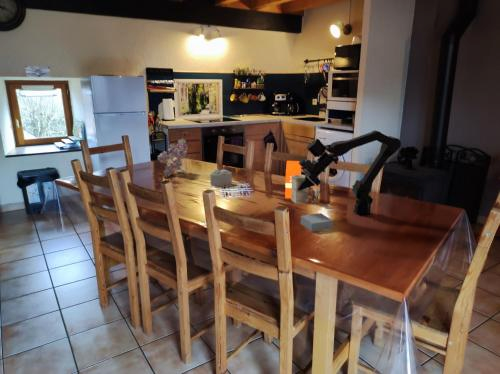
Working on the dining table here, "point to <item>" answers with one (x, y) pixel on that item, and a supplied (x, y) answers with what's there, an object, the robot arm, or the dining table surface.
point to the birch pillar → (296, 194)
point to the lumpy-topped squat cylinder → (221, 178)
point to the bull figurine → (313, 194)
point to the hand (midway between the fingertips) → (297, 187)
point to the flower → (178, 152)
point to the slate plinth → (316, 222)
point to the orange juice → (291, 169)
